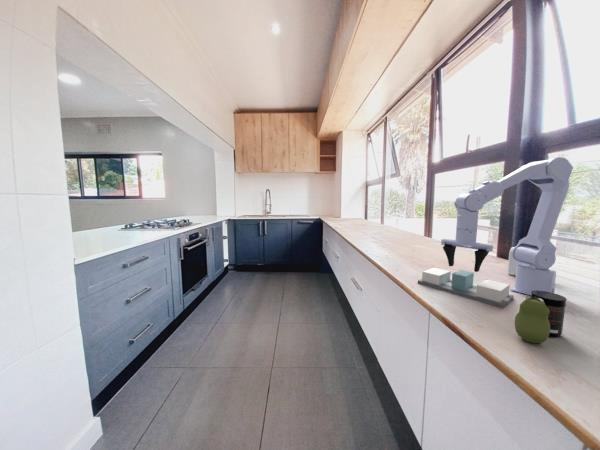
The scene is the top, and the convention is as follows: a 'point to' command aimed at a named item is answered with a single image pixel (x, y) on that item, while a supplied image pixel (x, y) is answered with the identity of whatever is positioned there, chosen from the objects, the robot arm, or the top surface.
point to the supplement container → (553, 310)
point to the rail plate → (482, 292)
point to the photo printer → (512, 264)
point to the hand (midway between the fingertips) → (463, 268)
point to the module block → (462, 280)
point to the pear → (533, 320)
